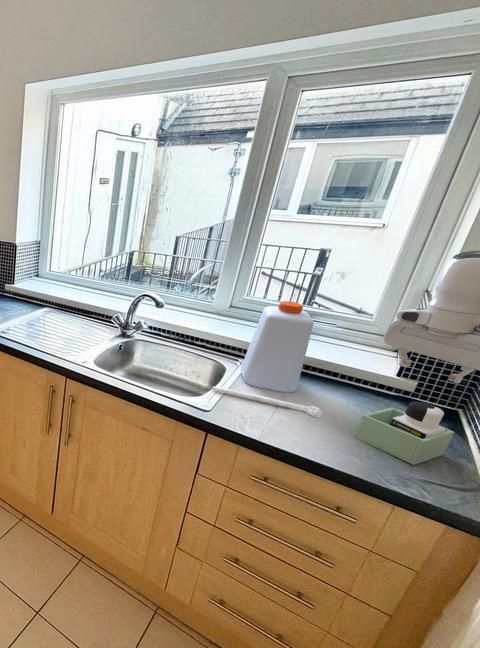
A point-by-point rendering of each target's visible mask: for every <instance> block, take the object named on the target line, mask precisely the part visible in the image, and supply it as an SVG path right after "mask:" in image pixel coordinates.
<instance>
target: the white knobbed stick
mask: <svg viewBox="0 0 480 648" xmlns="http://www.w3.org/2000/svg"><path fill="white" fill-rule="evenodd" d="M212 390H214V391H217V392H220V393H223V394H227V395H232V396H235V397H240V398H243V399H249V400H253V401H256V402H257V401H258V402H262V403H267V404H271V405H274V406H279V407H284V408H287V409H292V410H296V411H300V412H302V413H303V412H304V413H306V415H309V416H311V417H314V418H321V417H322V413H323V412H322V409H321V408H319V407H318V406H315V405H309V406H307V405H303V404H299V403H293V402H289V401H285V400H280V399H276V398H271V397H267V396H263V395H259V394H254V393H249V392H244V391H240V390H235V389H231V388H223V387H219V386H212Z"/></svg>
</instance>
